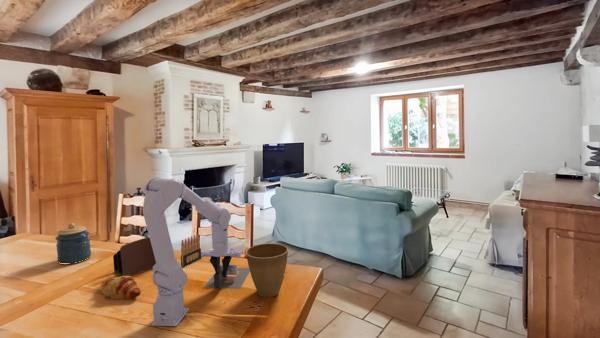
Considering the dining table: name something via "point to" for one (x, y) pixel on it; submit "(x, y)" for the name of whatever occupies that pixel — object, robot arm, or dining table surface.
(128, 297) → the croissant
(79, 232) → the canister
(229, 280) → the tile
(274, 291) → the plant pot
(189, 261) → the ammunition clip
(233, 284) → the mat
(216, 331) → the dining table surface
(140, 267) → the letter holder
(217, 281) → the turner
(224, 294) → the dining table surface
